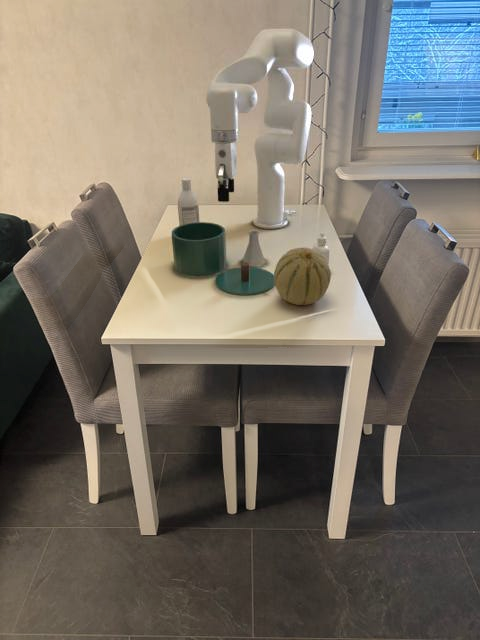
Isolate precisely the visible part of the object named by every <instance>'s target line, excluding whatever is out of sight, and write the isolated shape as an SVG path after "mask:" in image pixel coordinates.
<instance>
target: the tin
mask: <svg viewBox="0 0 480 640" xmlns="http://www.w3.org/2000/svg"><path fill="white" fill-rule="evenodd" d="M226 239H227V238H226V228H225V227H224V226H222V225H220V224H218V223H214V222H207V221H206V222H205V221H199V222H195V223H188V224H184V225H180V226H179V225H178V226H176V227H174V228H173V229H172V230H171V243H172V253H173V263H174V264H173V265H174V269H175V271H176V272H177V273H179V274H180V275H184V276H187V277H195V278H196V277H208V276H213V275H216V274H220V273H222V272H223V271H225V270H226V267H227V246H226V245H227V244H226V243H227V242H226V241H227V240H226Z"/></svg>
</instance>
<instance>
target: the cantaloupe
mask: <svg viewBox="0 0 480 640" xmlns="http://www.w3.org/2000/svg"><path fill="white" fill-rule="evenodd" d="M331 273H332V272H331V269H330V265H329V264H327V262H326V259H325V258H324V257H323V255H321V254H320V253H319V252H317V251H315V250H314V249H313V248H311V247H294V248H291V249H290V250H287V252H285V253H283V254H282V256H281V257H280V258H279V259H278V261H277V263H276V265H275V268H274V272H273V275H274V283H275V286H274V287H275V288H276V291H277V292H278V294H279V296H280V297H281V298H282V299H283V300H285V302H288V303H290V304H293V305H296V306H307V305H312V304H314V303H316V302H318V301H319V300H321V299H322V297H324V296H325V294H326V292H327V291H328V288H329V286H330V283H331V279H332V278H331V277H332V275H331Z"/></svg>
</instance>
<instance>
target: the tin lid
mask: <svg viewBox="0 0 480 640" xmlns="http://www.w3.org/2000/svg"><path fill="white" fill-rule="evenodd" d="M214 283H215V287H216V288H217V289H219V290H220V291H222V292H223V293H225V294H229V295H232V296H233V295H234V296H255V295H261V294H264V293H267V292H268V291H270V290H272V289H273V288H274V287H276V286H275V283H274V273H272V272H271V271H268V270H267V269H263V268H260V267H255V266H250V264H249V263H247V262H242V263H240V266H239V267H233V268H229V269H225V270H223V271H221V272H219V273H218V274H217V276H216V277H215V279H214Z"/></svg>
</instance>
